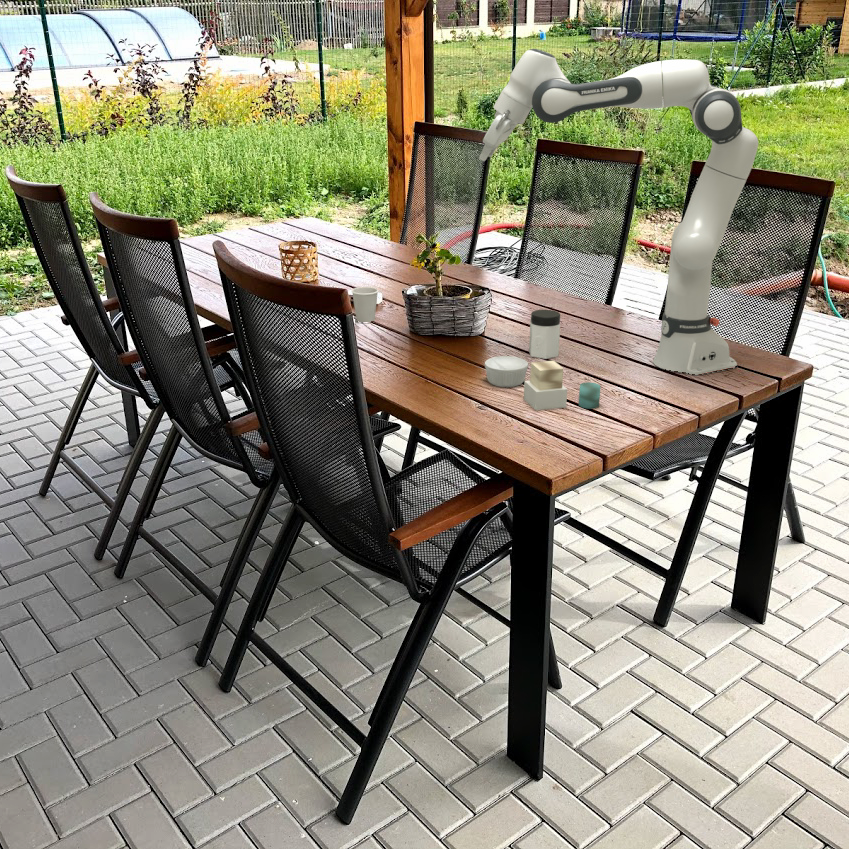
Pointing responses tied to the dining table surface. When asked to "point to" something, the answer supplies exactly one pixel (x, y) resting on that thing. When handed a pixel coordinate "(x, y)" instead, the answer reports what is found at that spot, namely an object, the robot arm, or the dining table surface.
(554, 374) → the birch top block
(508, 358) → the ramekin
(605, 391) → the dining table surface
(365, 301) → the dixie cup
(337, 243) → the dining table surface
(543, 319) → the jar
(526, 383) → the grey base block
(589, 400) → the teal cylinder
